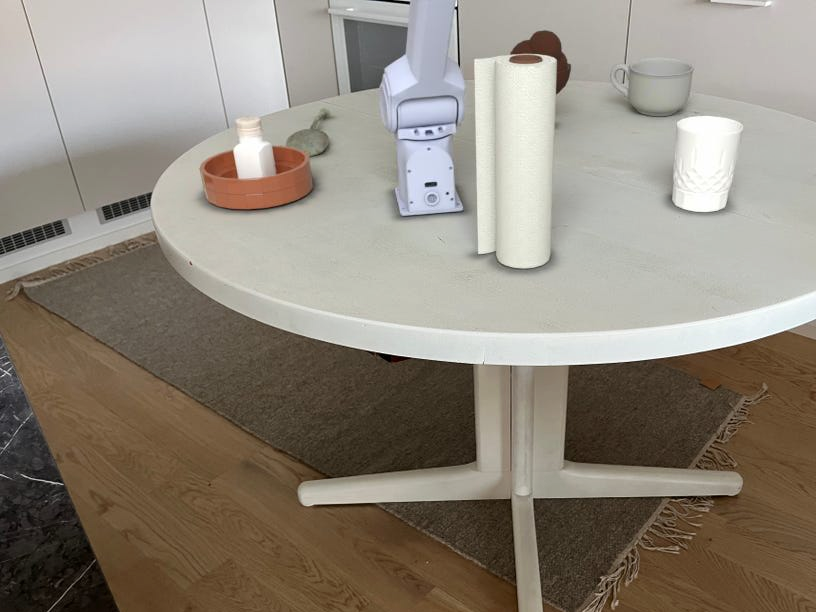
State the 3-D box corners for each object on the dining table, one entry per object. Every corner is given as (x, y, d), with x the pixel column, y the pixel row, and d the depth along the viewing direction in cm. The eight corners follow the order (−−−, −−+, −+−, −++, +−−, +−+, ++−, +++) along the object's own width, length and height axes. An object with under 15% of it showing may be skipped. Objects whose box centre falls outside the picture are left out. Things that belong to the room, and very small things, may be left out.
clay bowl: (313, 206, 103) (308, 175, 101) (200, 215, 101) (193, 183, 99) (313, 171, 115) (309, 142, 112) (212, 178, 113) (206, 149, 110)
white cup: (685, 217, 97) (696, 137, 92) (657, 195, 104) (665, 119, 98) (742, 210, 99) (756, 130, 94) (711, 189, 105) (722, 113, 100)
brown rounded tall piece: (568, 116, 136) (572, 23, 128) (568, 135, 127) (572, 36, 119) (507, 115, 137) (507, 23, 129) (502, 134, 128) (502, 36, 120)
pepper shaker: (280, 185, 109) (269, 116, 104) (266, 196, 106) (253, 124, 100) (254, 183, 110) (241, 114, 105) (239, 193, 106) (225, 122, 101)
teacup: (697, 108, 139) (703, 61, 135) (675, 123, 131) (680, 73, 127) (623, 99, 145) (627, 53, 141) (598, 113, 138) (601, 65, 133)
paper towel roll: (561, 258, 88) (570, 57, 77) (523, 275, 85) (526, 67, 73) (515, 240, 93) (516, 47, 81) (477, 255, 89) (473, 56, 78)
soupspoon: (283, 161, 121) (326, 162, 121) (280, 139, 119) (324, 141, 119) (307, 116, 139) (344, 117, 139) (305, 97, 137) (343, 98, 137)
